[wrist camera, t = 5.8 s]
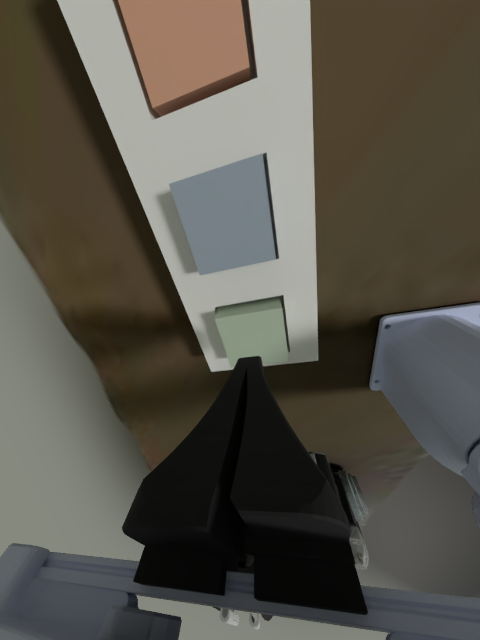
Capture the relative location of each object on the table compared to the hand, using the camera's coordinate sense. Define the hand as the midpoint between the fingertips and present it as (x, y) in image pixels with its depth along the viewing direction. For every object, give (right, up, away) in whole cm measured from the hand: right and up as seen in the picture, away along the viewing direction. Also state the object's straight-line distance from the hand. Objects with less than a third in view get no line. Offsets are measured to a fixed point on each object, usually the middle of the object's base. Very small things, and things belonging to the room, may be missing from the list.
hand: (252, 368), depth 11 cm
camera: (+15, -23, +20) cm, 35 cm away
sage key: (0, +2, +4) cm, 5 cm away
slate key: (-1, +9, +1) cm, 9 cm away
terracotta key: (-3, +17, -2) cm, 17 cm away
